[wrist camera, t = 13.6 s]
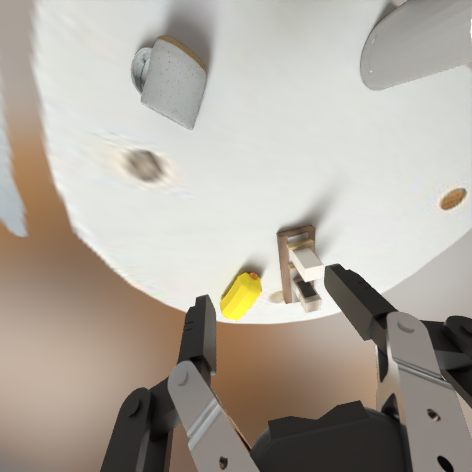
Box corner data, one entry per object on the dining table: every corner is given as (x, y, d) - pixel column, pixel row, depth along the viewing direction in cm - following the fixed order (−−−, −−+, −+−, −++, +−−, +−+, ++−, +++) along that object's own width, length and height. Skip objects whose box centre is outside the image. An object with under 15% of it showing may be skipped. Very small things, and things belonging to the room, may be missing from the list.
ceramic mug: (211, 78, 27) (208, 56, 20) (195, 132, 30) (188, 129, 23) (140, 34, 24) (109, -8, 17) (131, 100, 27) (103, 86, 20)
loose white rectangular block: (305, 244, 42) (323, 264, 35) (305, 257, 44) (322, 279, 37) (290, 247, 42) (305, 269, 35) (291, 261, 44) (305, 283, 37)
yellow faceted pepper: (215, 305, 54) (236, 310, 56) (215, 324, 48) (238, 329, 50) (242, 265, 47) (264, 273, 49) (246, 282, 41) (271, 290, 43)
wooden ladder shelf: (311, 225, 42) (337, 248, 33) (310, 292, 55) (328, 322, 46) (276, 233, 42) (293, 258, 33) (283, 299, 56) (297, 330, 46)
